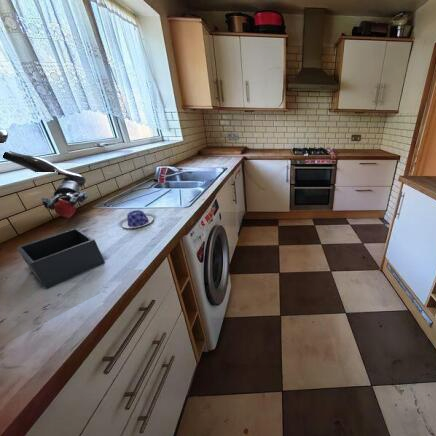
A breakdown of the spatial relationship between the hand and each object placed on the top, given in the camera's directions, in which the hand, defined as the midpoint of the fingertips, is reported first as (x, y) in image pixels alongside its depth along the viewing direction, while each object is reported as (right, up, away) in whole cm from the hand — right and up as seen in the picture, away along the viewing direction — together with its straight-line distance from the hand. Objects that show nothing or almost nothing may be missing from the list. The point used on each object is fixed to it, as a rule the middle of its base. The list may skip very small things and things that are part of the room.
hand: (61, 205), depth 86 cm
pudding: (+19, -7, +15) cm, 26 cm away
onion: (-1, -5, +5) cm, 7 cm away
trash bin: (+15, -21, -12) cm, 28 cm away
